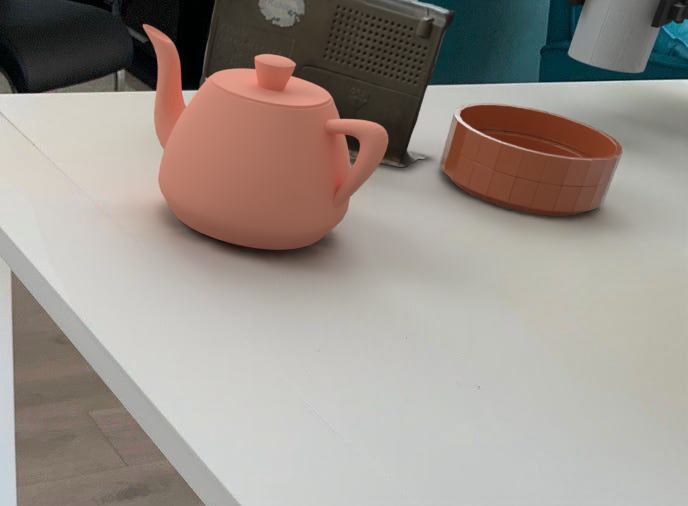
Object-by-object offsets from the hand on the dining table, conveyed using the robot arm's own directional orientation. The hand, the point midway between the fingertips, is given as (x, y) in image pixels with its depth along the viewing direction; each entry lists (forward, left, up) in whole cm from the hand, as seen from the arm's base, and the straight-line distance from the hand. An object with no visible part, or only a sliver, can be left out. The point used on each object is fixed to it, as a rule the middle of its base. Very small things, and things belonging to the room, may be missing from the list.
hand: (616, 2), depth 115 cm
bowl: (-2, +32, -13) cm, 34 cm away
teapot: (+13, +63, -13) cm, 65 cm away
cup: (0, -4, -7) cm, 8 cm away
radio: (+19, +36, -13) cm, 43 cm away
